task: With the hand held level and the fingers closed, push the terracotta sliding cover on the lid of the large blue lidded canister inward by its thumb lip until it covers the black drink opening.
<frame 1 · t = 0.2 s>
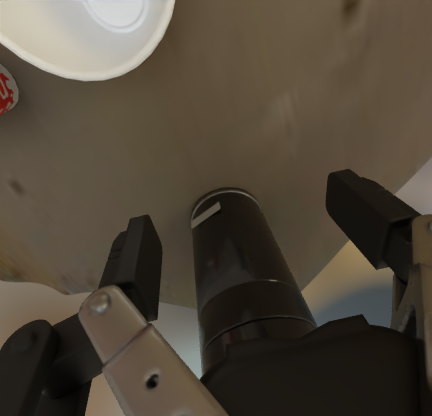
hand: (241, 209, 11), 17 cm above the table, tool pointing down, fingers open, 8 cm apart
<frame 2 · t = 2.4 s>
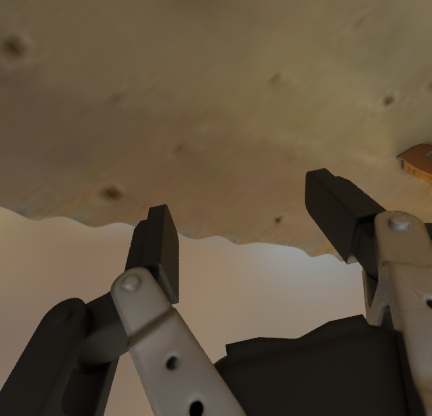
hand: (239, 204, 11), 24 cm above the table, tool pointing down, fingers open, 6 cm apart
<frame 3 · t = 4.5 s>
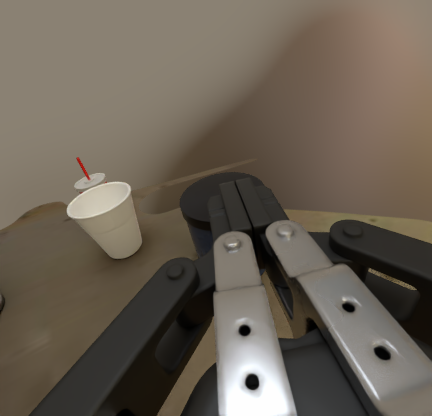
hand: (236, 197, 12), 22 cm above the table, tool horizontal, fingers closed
cup: (126, 248, 45), on the table
blue lidded canister: (234, 257, 38), on the table
beverage cup: (109, 216, 55), on the table
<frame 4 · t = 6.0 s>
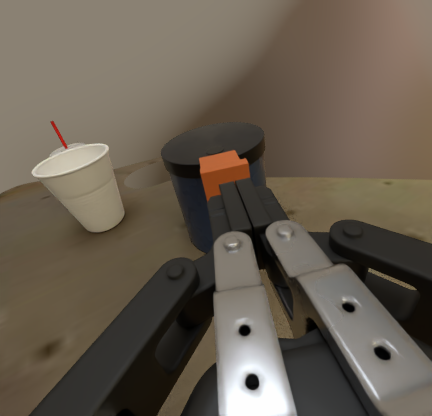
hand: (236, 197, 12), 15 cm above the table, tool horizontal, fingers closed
cup: (107, 222, 40), on the table
blue lidded canister: (228, 226, 33), on the table
slider: (222, 169, 19), point 12 cm above the table, slide at 4.0 cm
beverage cup: (91, 192, 50), on the table
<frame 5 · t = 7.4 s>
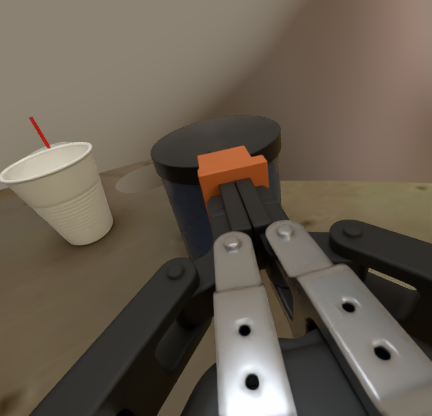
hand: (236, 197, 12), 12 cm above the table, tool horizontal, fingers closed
cup: (93, 232, 34), on the table
blue lidded canister: (233, 239, 28), on the table
slider: (227, 171, 14), point 13 cm above the table, slide at 3.5 cm, touching gripper
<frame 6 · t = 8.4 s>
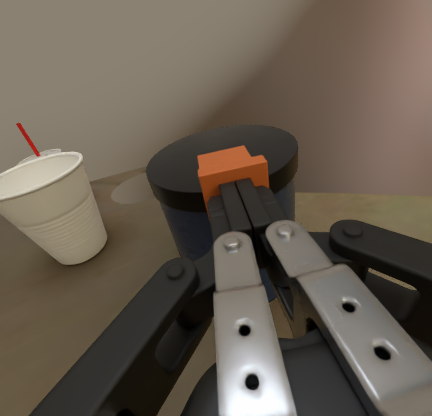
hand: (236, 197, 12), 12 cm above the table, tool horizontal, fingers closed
cup: (85, 249, 32), on the table
blue lidded canister: (239, 261, 25), on the table
slider: (227, 171, 14), point 12 cm above the table, slide at 0.1 cm, touching gripper
beverage cup: (71, 207, 42), on the table
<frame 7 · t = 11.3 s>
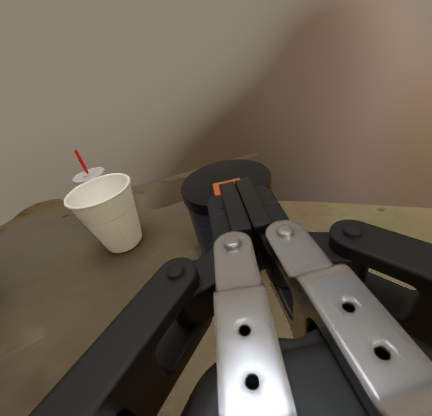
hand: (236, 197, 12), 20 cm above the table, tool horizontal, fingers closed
cup: (126, 242, 44), on the table
blue lidded canister: (238, 249, 37), on the table
slider: (230, 194, 26), point 12 cm above the table, slide at 0.1 cm
beverage cup: (108, 211, 54), on the table
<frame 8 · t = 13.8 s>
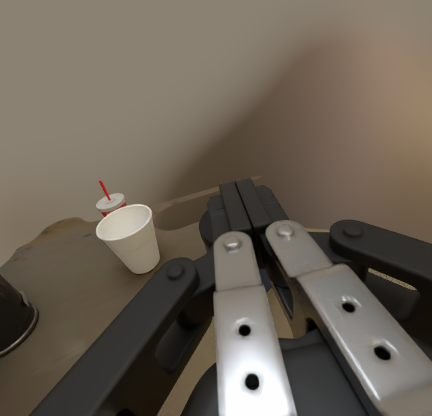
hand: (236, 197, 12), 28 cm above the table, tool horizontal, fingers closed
cup: (145, 263, 50), on the table
blue lidded canister: (244, 272, 43), on the table
beverage cup: (126, 232, 60), on the table
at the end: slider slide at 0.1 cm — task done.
